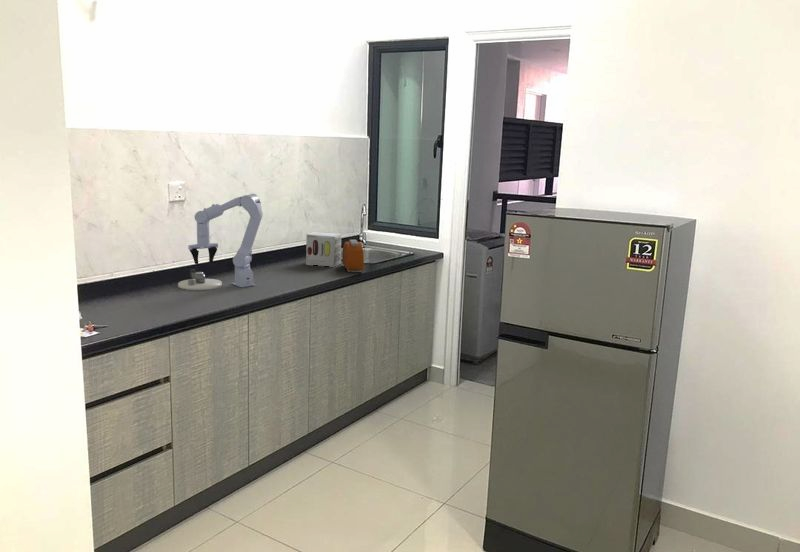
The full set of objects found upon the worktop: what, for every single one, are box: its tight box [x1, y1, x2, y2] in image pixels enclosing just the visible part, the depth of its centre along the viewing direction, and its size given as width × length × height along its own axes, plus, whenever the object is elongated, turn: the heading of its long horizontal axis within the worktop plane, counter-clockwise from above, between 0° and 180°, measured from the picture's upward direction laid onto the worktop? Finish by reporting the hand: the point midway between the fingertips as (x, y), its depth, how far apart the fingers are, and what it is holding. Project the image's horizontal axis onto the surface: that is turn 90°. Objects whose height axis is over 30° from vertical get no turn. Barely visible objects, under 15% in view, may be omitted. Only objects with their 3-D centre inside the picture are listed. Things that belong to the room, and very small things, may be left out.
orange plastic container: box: [341, 239, 365, 273], centre depth 361 cm, size 23×9×17 cm, turn 12°
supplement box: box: [305, 231, 342, 268], centre depth 372 cm, size 17×13×18 cm
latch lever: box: [189, 268, 206, 283], centre depth 311 cm, size 12×4×5 cm, turn 41°
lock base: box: [177, 278, 223, 291], centre depth 308 cm, size 20×20×4 cm
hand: (203, 263), depth 315 cm, fingers open, 7 cm apart
